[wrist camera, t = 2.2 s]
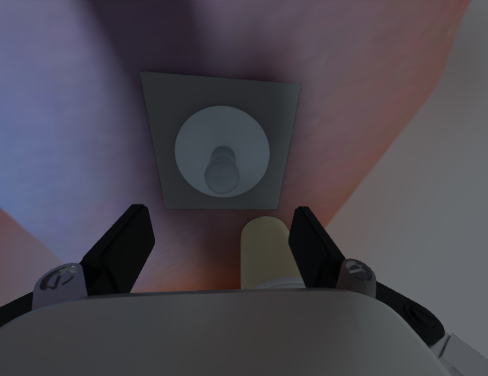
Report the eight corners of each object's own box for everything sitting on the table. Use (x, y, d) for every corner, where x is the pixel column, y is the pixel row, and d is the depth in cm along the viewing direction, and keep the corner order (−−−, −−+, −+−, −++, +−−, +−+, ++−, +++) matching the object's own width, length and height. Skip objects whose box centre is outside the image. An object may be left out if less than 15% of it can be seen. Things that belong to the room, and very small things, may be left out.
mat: (142, 71, 17) (139, 70, 16) (299, 84, 19) (301, 84, 18) (166, 206, 25) (165, 208, 24) (276, 207, 26) (277, 209, 26)
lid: (170, 102, 18) (136, 107, 11) (274, 108, 19) (299, 118, 12) (181, 193, 23) (163, 234, 16) (262, 194, 24) (275, 233, 18)
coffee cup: (228, 248, 30) (229, 333, 19) (247, 205, 26) (260, 283, 15) (277, 257, 32) (301, 338, 21) (301, 218, 28) (346, 295, 17)
